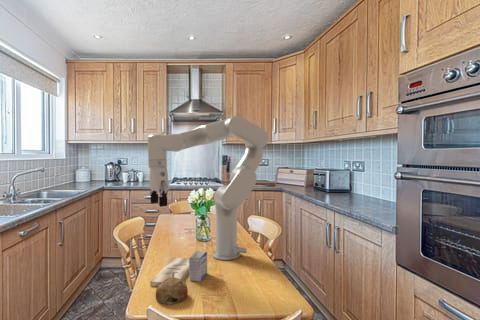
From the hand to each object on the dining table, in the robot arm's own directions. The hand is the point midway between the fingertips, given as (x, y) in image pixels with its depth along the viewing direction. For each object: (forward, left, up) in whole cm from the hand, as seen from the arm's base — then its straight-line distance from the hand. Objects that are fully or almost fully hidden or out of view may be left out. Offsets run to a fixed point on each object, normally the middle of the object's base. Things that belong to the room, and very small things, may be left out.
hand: (158, 204), depth 126 cm
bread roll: (-15, +29, -25) cm, 41 cm away
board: (-10, +10, -25) cm, 28 cm away
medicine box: (-20, +13, -25) cm, 35 cm away
